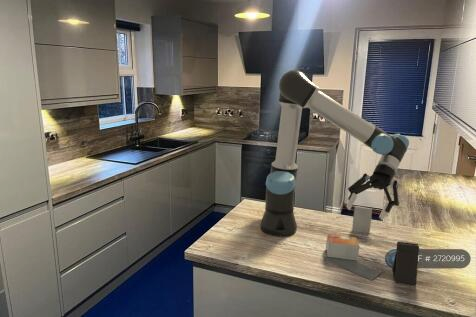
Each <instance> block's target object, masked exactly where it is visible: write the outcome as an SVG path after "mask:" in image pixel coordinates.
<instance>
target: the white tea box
mask: <svg viewBox="0 0 476 317" xmlns="http://www.w3.org/2000/svg"><path fill="white" fill-rule="evenodd" d="M372 216H373V208H368V207H363V206H362V207H361V206H356V205H355V206H354V211H353V216H352V217H353V219H352V227H351V228H352V229H351V230H352V231H355V232H359V233H360V232H361V233H363V234H364V233H365V234H370V231H371V225H372Z"/></svg>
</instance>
